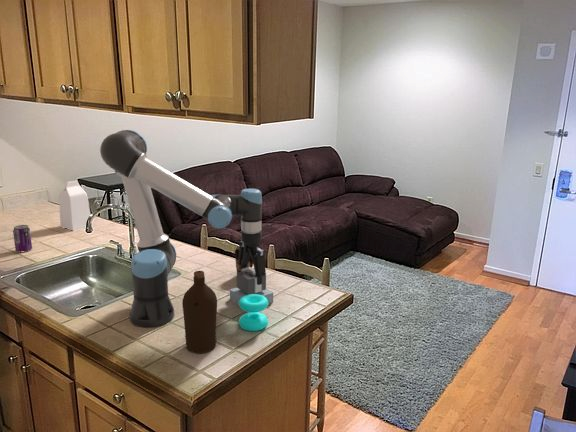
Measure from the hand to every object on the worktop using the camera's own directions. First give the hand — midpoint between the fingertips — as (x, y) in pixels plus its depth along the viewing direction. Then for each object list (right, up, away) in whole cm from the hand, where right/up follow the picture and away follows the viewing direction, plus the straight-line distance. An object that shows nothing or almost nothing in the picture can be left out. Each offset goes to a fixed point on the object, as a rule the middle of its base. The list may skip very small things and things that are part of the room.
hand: (251, 287), depth 184 cm
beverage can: (-114, +10, +49) cm, 124 cm away
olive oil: (-14, -14, -31) cm, 36 cm away
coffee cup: (-5, +1, +25) cm, 25 cm away
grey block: (0, 0, 0) cm, 0 cm away
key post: (0, -1, 0) cm, 1 cm away
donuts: (+2, -11, -17) cm, 20 cm away
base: (0, -5, +1) cm, 5 cm away
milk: (-105, +21, +87) cm, 138 cm away
